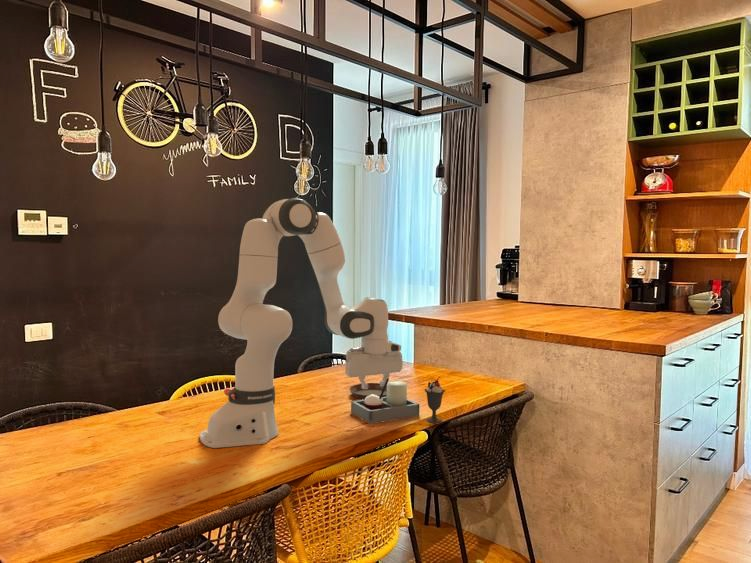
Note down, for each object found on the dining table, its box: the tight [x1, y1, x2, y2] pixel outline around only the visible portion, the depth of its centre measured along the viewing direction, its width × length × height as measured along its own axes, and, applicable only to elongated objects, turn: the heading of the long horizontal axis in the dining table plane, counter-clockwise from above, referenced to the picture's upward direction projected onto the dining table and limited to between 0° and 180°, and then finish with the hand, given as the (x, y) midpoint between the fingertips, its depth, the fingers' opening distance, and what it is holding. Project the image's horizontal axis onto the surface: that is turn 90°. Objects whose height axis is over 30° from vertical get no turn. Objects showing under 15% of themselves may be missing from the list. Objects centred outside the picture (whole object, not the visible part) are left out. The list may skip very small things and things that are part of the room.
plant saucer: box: [348, 382, 387, 400], centre depth 212 cm, size 18×18×3 cm
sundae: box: [424, 376, 446, 424], centre depth 182 cm, size 7×7×15 cm
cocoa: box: [360, 377, 390, 410], centre depth 185 cm, size 10×6×12 cm, turn 50°
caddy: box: [350, 380, 420, 425], centre depth 188 cm, size 19×13×10 cm
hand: (373, 387), depth 186 cm, fingers open, 6 cm apart
